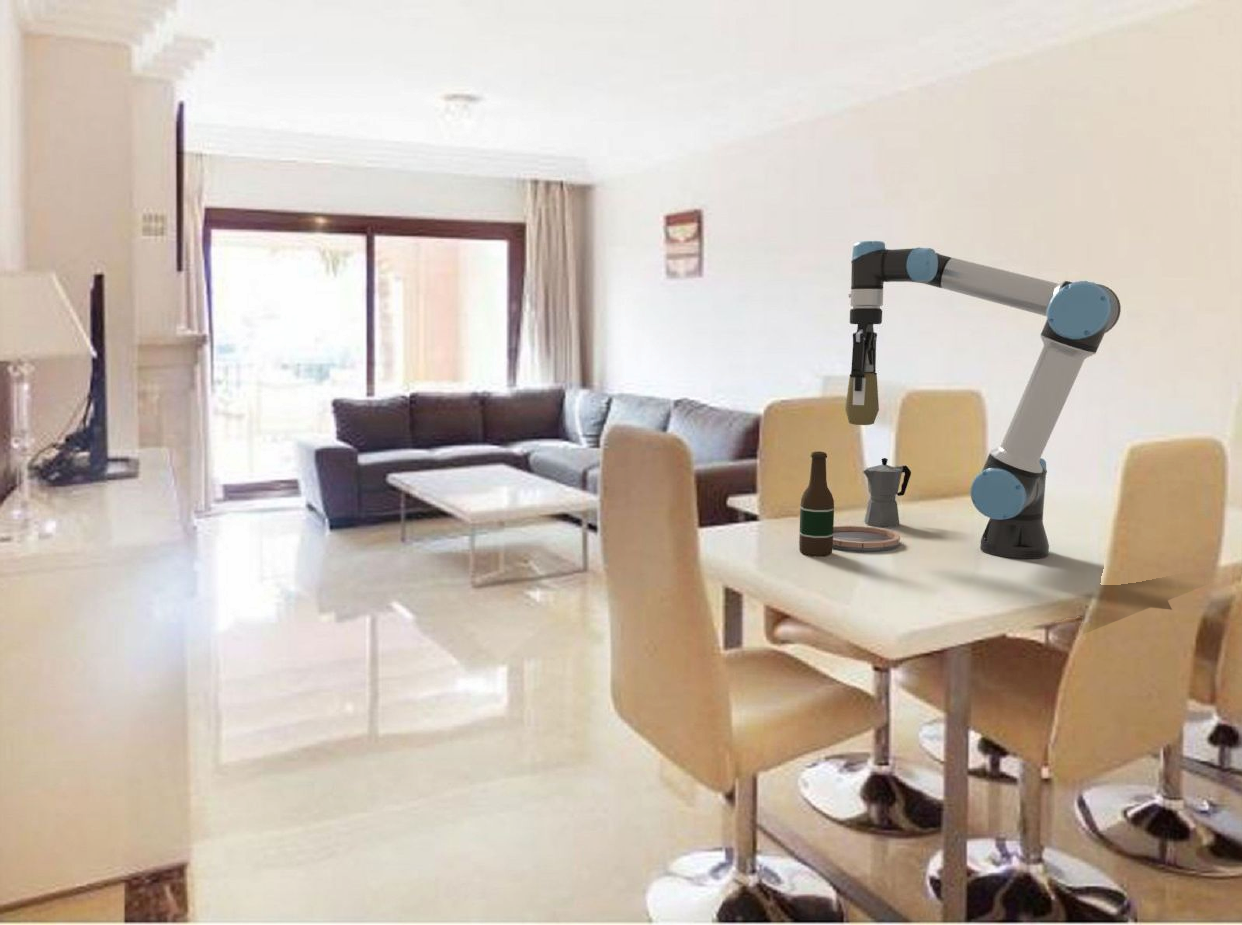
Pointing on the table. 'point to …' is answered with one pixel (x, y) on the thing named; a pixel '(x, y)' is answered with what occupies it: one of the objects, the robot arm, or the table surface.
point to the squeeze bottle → (871, 406)
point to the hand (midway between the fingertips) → (862, 403)
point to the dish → (864, 538)
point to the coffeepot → (884, 493)
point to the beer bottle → (817, 511)
